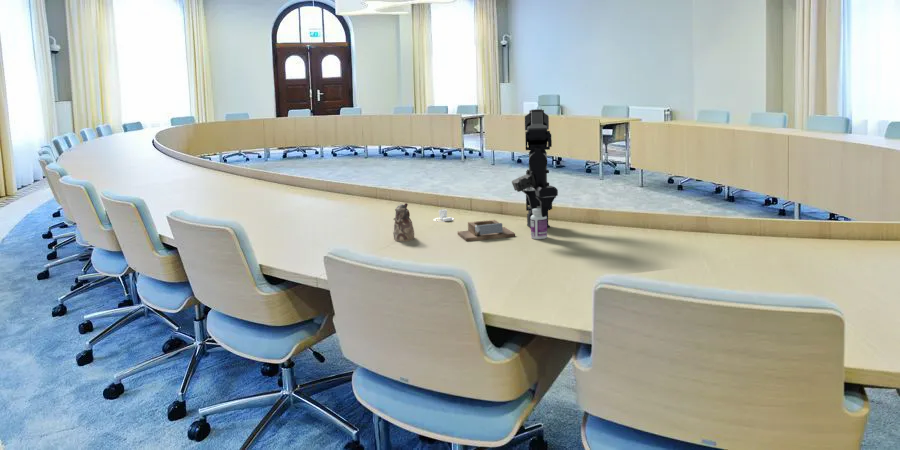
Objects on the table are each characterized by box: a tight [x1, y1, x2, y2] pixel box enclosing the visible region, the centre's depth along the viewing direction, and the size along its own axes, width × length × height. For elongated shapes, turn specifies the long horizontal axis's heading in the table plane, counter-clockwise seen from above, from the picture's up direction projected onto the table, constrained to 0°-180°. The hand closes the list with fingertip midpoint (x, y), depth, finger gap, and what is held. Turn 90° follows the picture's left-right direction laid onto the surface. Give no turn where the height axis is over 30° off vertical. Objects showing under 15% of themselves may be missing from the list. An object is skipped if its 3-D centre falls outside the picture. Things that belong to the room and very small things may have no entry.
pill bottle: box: [530, 208, 548, 240], centre depth 226 cm, size 5×5×10 cm
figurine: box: [392, 202, 415, 242], centre depth 232 cm, size 7×7×12 cm
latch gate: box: [475, 222, 503, 235], centre depth 229 cm, size 9×2×3 cm, turn 105°
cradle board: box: [457, 219, 516, 242], centre depth 233 cm, size 17×11×4 cm, turn 104°
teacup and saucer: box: [432, 208, 455, 223], centre depth 262 cm, size 9×8×4 cm
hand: (538, 214), depth 225 cm, fingers open, 9 cm apart
